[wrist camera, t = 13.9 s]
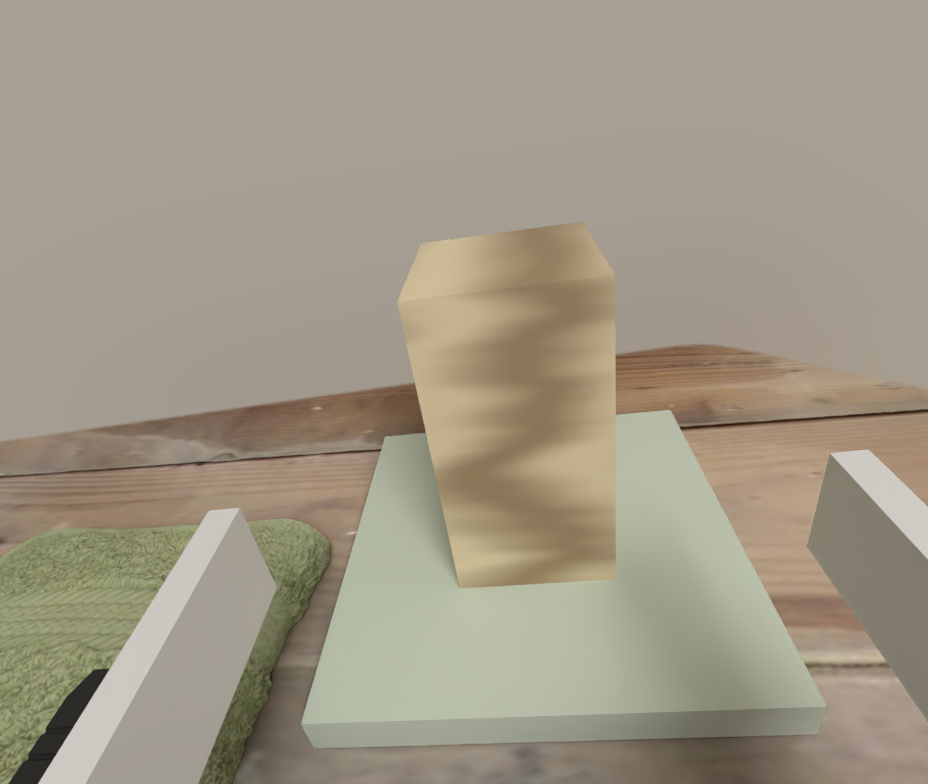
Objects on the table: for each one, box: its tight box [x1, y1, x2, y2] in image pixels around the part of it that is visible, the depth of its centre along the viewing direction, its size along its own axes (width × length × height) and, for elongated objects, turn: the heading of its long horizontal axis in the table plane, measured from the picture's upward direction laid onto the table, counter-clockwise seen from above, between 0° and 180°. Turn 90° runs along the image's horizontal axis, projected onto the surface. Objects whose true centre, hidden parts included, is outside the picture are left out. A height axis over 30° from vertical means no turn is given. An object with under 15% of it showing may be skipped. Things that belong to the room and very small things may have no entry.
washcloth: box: [0, 518, 331, 784], centre depth 22 cm, size 13×18×3 cm
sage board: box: [301, 410, 827, 748], centre depth 24 cm, size 16×16×2 cm
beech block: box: [398, 222, 616, 589], centre depth 20 cm, size 6×6×12 cm
